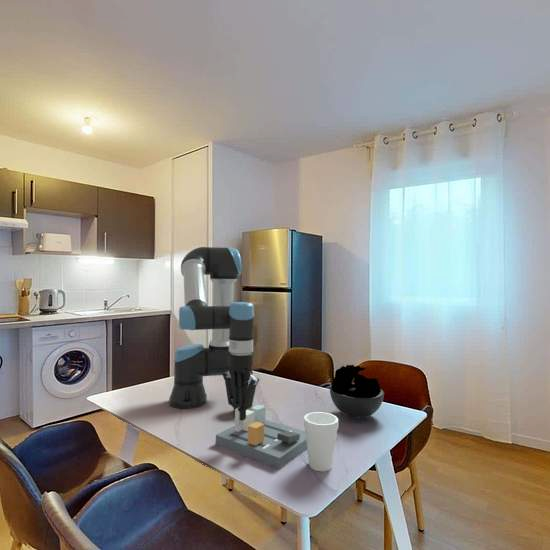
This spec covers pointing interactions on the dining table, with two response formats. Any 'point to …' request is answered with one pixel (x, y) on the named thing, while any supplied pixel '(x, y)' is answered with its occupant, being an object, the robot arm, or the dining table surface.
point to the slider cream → (249, 419)
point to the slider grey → (259, 413)
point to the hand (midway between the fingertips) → (239, 429)
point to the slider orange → (256, 433)
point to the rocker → (288, 436)
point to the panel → (264, 444)
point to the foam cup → (320, 439)
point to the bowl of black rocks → (355, 392)
